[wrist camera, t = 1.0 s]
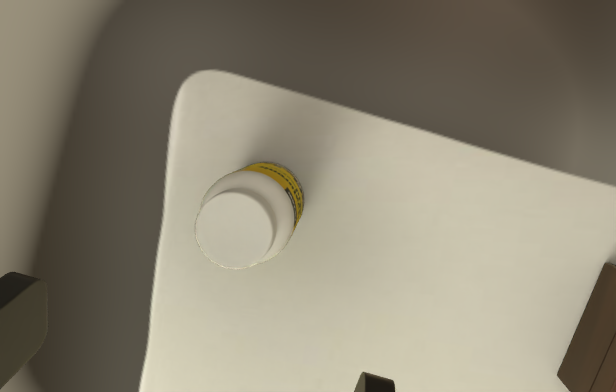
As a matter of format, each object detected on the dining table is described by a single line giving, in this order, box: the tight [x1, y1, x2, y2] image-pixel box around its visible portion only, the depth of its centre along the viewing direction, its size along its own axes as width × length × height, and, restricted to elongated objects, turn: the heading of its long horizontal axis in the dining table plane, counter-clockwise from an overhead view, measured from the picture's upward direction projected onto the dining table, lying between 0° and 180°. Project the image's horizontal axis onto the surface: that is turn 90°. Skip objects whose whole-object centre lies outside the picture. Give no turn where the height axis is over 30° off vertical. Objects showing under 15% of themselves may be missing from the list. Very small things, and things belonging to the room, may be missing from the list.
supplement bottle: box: [195, 162, 304, 269], centre depth 26 cm, size 5×5×10 cm
